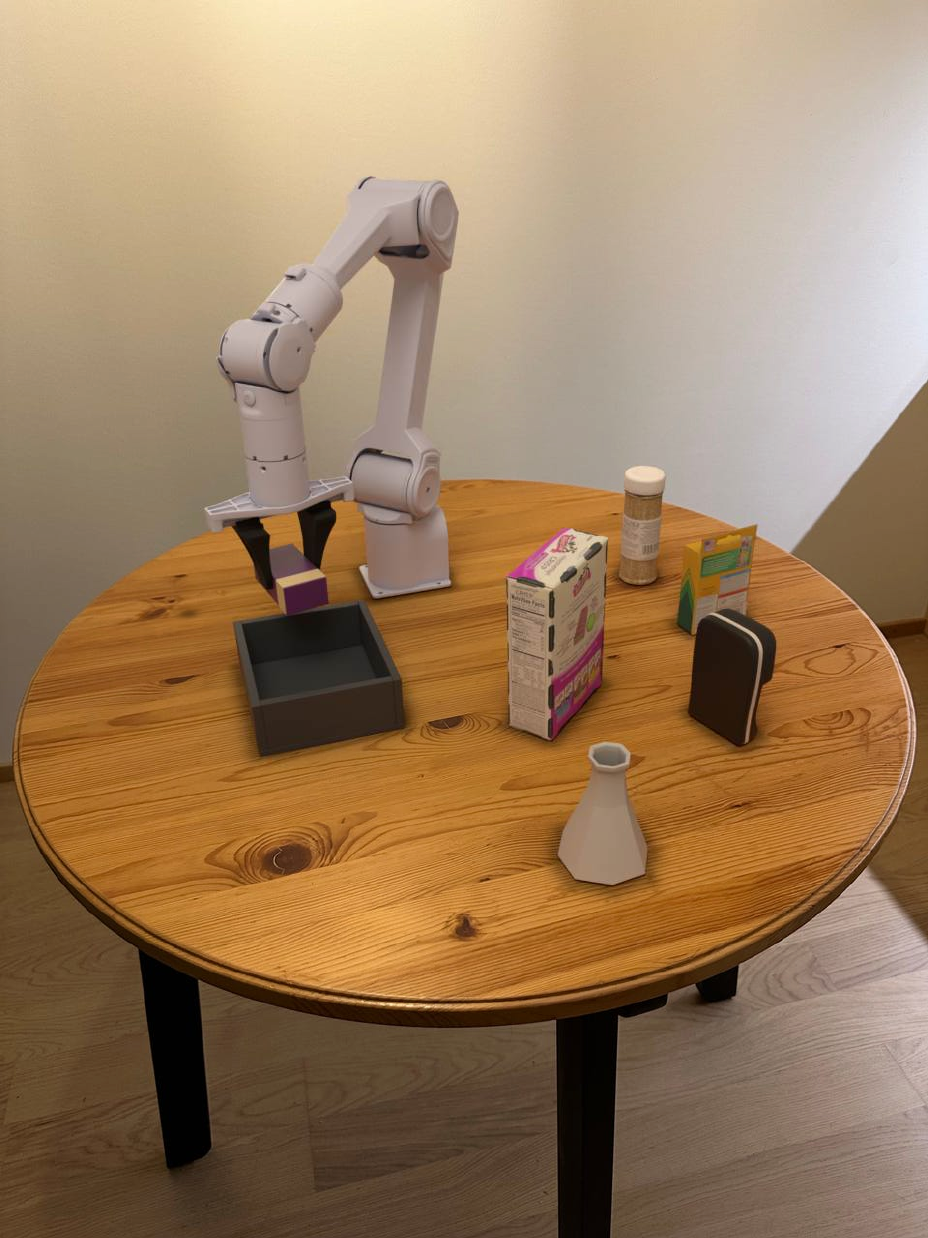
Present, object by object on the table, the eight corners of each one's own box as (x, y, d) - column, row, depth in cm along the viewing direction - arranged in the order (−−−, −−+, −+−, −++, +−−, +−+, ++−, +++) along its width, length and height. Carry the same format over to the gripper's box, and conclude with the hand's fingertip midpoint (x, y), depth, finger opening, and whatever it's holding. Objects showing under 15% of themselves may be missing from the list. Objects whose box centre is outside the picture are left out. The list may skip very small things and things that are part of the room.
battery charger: (769, 734, 92) (787, 628, 86) (740, 750, 90) (757, 643, 84) (711, 699, 97) (725, 597, 91) (684, 713, 95) (696, 609, 89)
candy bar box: (558, 670, 102) (563, 524, 93) (603, 684, 99) (612, 536, 91) (503, 727, 93) (503, 573, 85) (550, 744, 91) (555, 587, 83)
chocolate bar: (295, 568, 105) (292, 542, 104) (329, 604, 99) (326, 576, 97) (255, 579, 103) (251, 553, 102) (286, 616, 97) (283, 588, 95)
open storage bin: (368, 644, 107) (364, 599, 104) (404, 728, 94) (401, 678, 91) (240, 667, 103) (232, 621, 100) (259, 757, 90) (251, 707, 87)
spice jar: (648, 566, 121) (656, 462, 114) (662, 584, 117) (672, 477, 110) (612, 571, 120) (619, 466, 113) (625, 589, 116) (633, 481, 109)
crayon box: (728, 608, 112) (741, 513, 106) (746, 620, 109) (759, 524, 104) (674, 623, 109) (684, 527, 103) (691, 636, 107) (702, 538, 101)
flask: (550, 826, 82) (553, 728, 77) (636, 819, 82) (645, 722, 77) (565, 891, 76) (569, 789, 70) (659, 884, 76) (670, 782, 71)
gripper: (329, 424, 99) (340, 547, 106) (186, 453, 93) (208, 581, 100) (359, 446, 94) (368, 573, 101) (210, 477, 88) (230, 610, 95)
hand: (290, 579), depth 100 cm, fingers closed on chocolate bar, 4 cm apart
